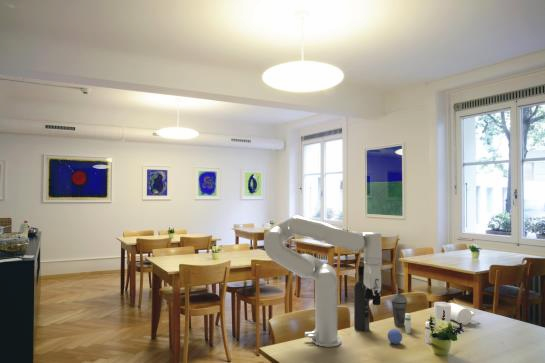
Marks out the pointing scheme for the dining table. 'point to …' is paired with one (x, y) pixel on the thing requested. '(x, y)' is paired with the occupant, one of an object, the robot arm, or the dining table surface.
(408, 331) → the pin
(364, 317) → the wine bottle
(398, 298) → the beverage cup
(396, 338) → the ball
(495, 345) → the dining table surface
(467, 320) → the mug
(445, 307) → the white cup
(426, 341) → the pin
